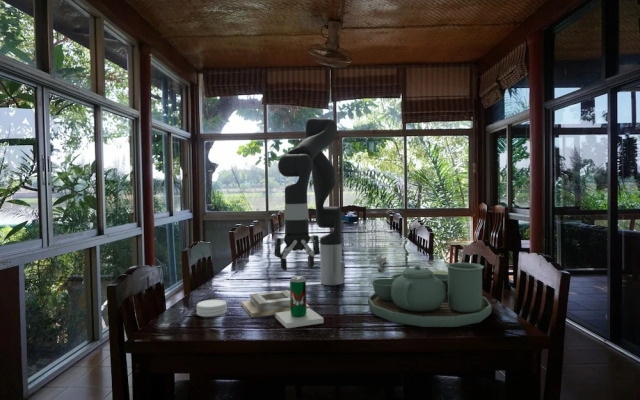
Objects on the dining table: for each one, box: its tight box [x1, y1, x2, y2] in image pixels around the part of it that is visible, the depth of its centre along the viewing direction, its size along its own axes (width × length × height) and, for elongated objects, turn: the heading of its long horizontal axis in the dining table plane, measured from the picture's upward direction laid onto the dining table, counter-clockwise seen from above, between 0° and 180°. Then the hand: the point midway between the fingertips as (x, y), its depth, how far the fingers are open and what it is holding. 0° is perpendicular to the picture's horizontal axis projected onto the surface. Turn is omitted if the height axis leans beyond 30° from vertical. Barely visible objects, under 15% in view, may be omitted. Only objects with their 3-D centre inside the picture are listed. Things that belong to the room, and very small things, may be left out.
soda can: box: [289, 275, 307, 317], centre depth 139 cm, size 5×5×12 cm
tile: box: [274, 307, 325, 329], centre depth 139 cm, size 12×12×2 cm
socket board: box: [240, 289, 310, 319], centre depth 153 cm, size 20×16×4 cm
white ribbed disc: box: [195, 299, 228, 318], centre depth 149 cm, size 10×10×4 cm
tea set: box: [367, 262, 493, 328], centre depth 148 cm, size 40×40×16 cm
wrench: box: [376, 254, 387, 271], centre depth 226 cm, size 8×2×30 cm
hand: (297, 269), depth 138 cm, fingers open, 8 cm apart
